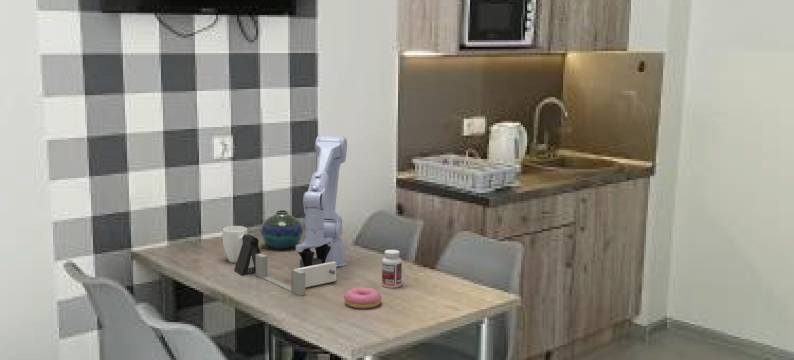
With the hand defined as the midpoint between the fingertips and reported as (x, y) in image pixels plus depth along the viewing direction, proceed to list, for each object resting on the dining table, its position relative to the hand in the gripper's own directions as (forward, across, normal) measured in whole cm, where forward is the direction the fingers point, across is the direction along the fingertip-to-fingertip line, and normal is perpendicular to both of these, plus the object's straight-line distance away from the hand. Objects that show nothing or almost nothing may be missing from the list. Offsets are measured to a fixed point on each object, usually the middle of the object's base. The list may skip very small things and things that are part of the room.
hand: (314, 269), depth 258 cm
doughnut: (+3, +8, +28) cm, 29 cm away
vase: (+3, -20, -37) cm, 42 cm away
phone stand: (+3, +9, -21) cm, 23 cm away
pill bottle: (+3, -12, +23) cm, 26 cm away
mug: (+3, +5, -32) cm, 33 cm away
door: (+2, +5, +7) cm, 9 cm away
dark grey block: (+3, 0, 0) cm, 3 cm away
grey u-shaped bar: (+3, +12, -3) cm, 13 cm away
